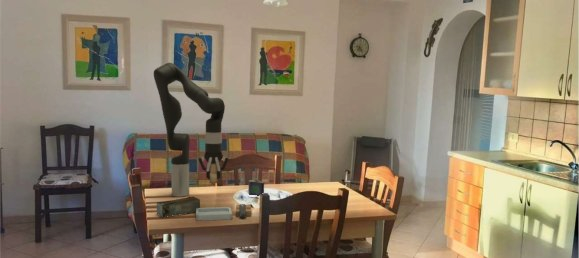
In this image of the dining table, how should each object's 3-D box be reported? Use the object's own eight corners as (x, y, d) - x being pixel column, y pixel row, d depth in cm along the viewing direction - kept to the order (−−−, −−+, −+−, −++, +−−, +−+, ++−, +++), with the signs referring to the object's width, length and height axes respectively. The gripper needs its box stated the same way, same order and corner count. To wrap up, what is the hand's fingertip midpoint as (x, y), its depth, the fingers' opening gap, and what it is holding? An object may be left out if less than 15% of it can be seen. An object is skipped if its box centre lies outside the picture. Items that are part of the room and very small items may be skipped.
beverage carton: (155, 214, 220) (155, 200, 219) (194, 208, 231) (194, 195, 230) (162, 218, 213) (162, 204, 213) (201, 212, 225) (201, 198, 224)
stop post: (239, 216, 218) (239, 204, 217) (245, 216, 218) (245, 204, 218) (239, 218, 215) (239, 206, 214) (246, 218, 216) (246, 205, 215)
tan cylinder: (209, 181, 217) (209, 162, 216) (217, 181, 218) (217, 162, 217) (209, 183, 214) (209, 164, 213) (217, 183, 214) (217, 163, 213)
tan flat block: (236, 211, 228) (236, 205, 228) (250, 211, 229) (250, 205, 228) (235, 217, 218) (235, 211, 218) (250, 217, 219) (251, 211, 218)
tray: (196, 213, 222) (196, 208, 222) (230, 212, 225) (230, 207, 224) (195, 220, 211) (195, 215, 211) (231, 219, 214) (231, 214, 214)
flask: (247, 197, 252) (247, 177, 251) (250, 195, 255) (250, 176, 253) (262, 199, 248) (263, 179, 247) (265, 198, 251) (265, 178, 249)
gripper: (197, 143, 209) (197, 181, 211) (229, 143, 211) (229, 180, 213) (197, 140, 216) (197, 177, 218) (228, 140, 219) (228, 177, 220)
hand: (213, 178), depth 216 cm, fingers closed on tan cylinder, 3 cm apart
